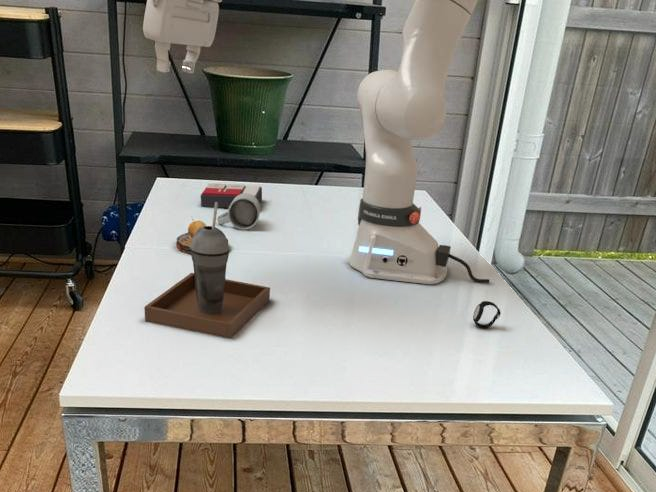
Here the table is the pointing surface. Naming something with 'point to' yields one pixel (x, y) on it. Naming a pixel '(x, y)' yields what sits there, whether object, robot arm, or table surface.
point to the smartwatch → (479, 313)
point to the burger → (189, 236)
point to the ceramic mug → (242, 212)
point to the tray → (183, 313)
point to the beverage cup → (209, 266)
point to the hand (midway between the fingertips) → (175, 72)
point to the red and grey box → (227, 194)
